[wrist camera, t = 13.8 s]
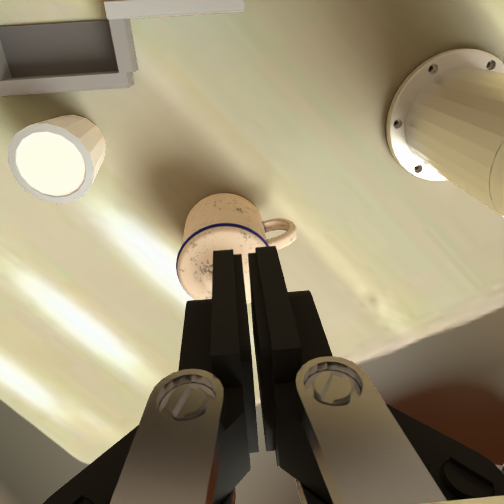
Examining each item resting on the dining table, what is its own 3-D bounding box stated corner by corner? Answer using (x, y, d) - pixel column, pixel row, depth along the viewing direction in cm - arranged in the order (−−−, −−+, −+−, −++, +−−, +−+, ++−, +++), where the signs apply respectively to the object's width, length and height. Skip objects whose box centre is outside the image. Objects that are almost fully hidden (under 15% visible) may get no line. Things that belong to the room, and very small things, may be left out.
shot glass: (25, 120, 39) (-11, 138, 33) (92, 98, 38) (68, 112, 32) (61, 186, 42) (35, 213, 36) (124, 166, 42) (108, 191, 35)
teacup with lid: (200, 272, 48) (196, 339, 38) (170, 204, 44) (155, 259, 34) (298, 242, 47) (320, 302, 37) (277, 169, 43) (295, 215, 33)
